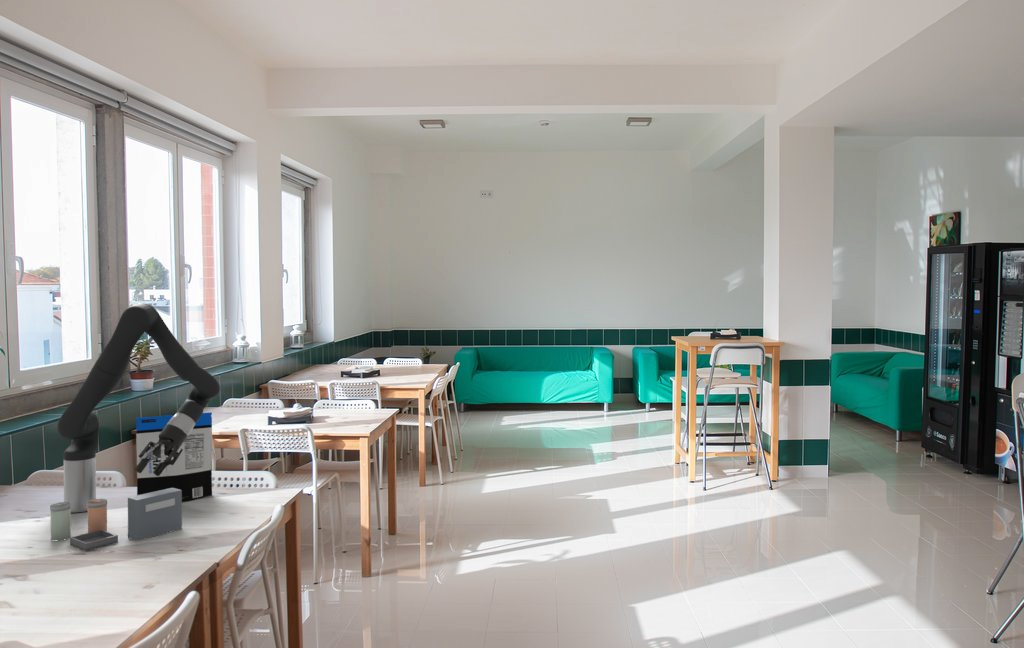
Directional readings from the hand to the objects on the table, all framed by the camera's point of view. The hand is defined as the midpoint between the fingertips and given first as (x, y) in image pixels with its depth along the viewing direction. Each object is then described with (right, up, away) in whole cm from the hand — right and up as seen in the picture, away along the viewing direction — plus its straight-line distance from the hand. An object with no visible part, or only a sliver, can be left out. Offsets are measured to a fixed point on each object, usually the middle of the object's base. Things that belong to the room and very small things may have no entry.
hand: (146, 473), depth 227 cm
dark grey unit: (+6, -17, -6) cm, 19 cm away
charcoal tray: (-7, -17, -16) cm, 25 cm away
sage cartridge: (-19, -17, -12) cm, 28 cm away
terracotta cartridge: (-11, -17, -8) cm, 21 cm away
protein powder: (-5, -16, +30) cm, 34 cm away
